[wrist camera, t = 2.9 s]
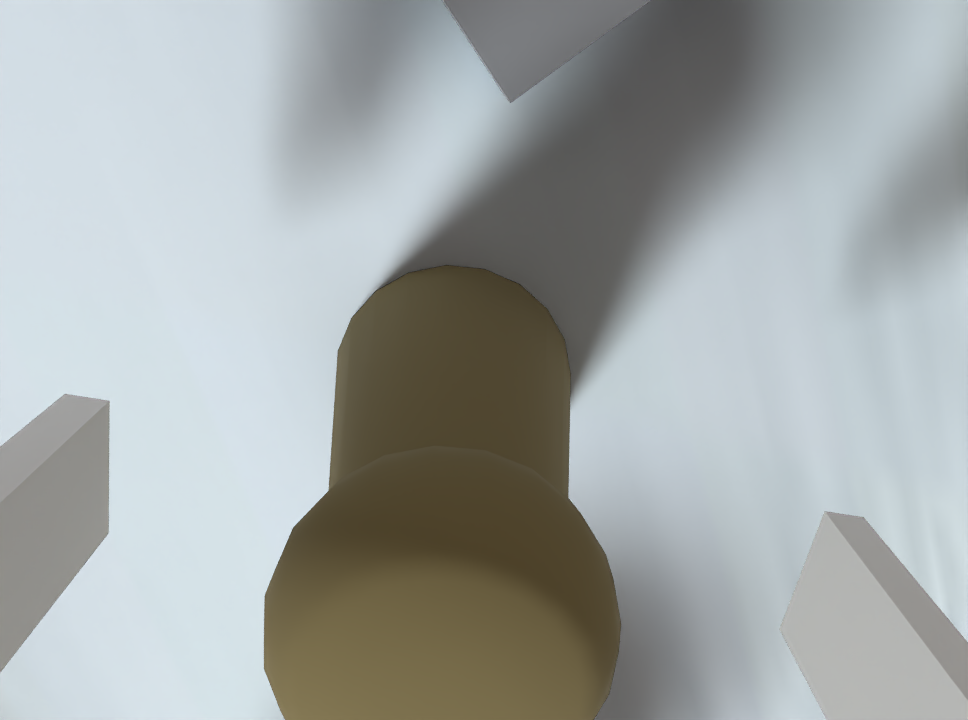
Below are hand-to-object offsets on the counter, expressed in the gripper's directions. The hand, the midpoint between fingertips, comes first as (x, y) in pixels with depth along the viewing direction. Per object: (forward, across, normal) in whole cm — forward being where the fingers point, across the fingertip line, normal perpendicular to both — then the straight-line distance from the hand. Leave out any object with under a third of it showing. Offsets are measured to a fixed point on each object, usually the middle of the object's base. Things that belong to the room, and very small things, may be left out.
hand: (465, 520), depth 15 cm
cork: (+7, 0, 0) cm, 7 cm away
